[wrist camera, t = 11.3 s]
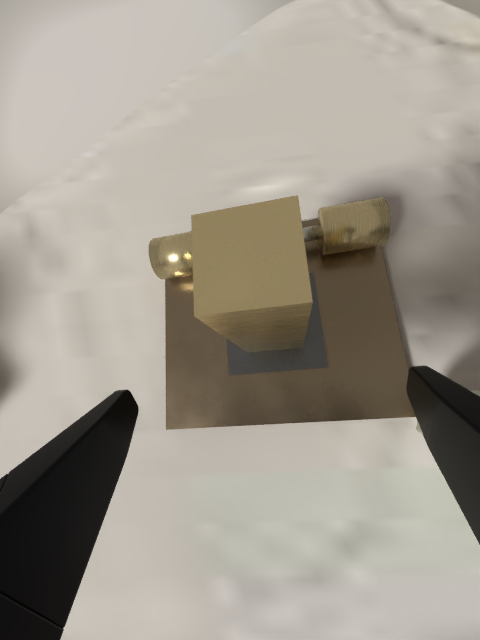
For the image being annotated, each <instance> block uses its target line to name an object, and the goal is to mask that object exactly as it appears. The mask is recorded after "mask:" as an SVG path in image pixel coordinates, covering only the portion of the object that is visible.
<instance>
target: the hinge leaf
mask: <svg viewBox="0 0 480 640" xmlns="http://www.w3.org/2000/svg"><path fill="white" fill-rule="evenodd" d="M302 229H303V236H304V243H305V250H306V257H307V265H308V272H309V279H310V286H311V293H312V300H313V303H312V308H311V313H310V317H309V322H308V327H307V332H306V336H305V341H304V346H303V348H292V349H281V350H270V351H259V352H248V353H247V352H246V351H244V350H243V349H241V348H240V347H239V346H237V345H236V344H234V343H233V342H231V341H230V340H228V339H227V338H225V337H224V336H222V335H221V334H219V333H218V332H216V331H215V330H213V329H212V328H211V327H209V326H208V325H206V324H205V323H203V322H202V321H200V320H199V319H197V318H196V317H194V293H193V255H192V232H186V233H181V234H175V235H170V236H164V237H159V238H153V239H152V240H151V241H150V244H149V258H150V262H151V265H152V268H153V270H154V272H155V274H156V275H157V276H158V277H159V278H160V279H165V298H166V429H185V428H205V427H224V426H244V425H264V424H283V423H303V422H322V421H342V420H362V419H381V418H401V417H416V416H415V413H414V410H413V408H412V405H411V403H410V400H409V398H408V395H407V391H406V385H407V379H408V373H409V371H408V366H407V362H406V357H405V353H404V348H403V344H402V339H401V334H400V330H399V325H398V321H397V316H396V312H395V307H394V303H393V298H392V294H391V289H390V285H389V280H388V276H387V271H386V267H385V262H384V258H383V253H382V249H381V246H383V245H385V243H386V242H387V239H388V236H389V231H390V212H389V207H388V204H387V201H386V200H385V199H384V198H383V197H379V198H374V199H368V200H363V201H357V202H352V203H346V204H341V205H335V206H330V207H324V208H319V211H318V219H315V220H309V221H304V222H302Z"/></svg>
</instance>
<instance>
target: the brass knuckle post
mask: <svg viewBox="0 0 480 640" xmlns="http://www.w3.org/2000/svg"><path fill="white" fill-rule="evenodd" d="M191 218H192V255H193V293H194V317H196V318H197V319H199V320H200V321H202V322H203V323H205V324H206V325H208V326H209V327H211V328H212V329H213V330H215V331H216V332H218V333H219V334H221V335H222V336H224V337H225V338H227V339H228V340H230V341H231V342H233V343H234V344H236V345H237V346H239V347H240V348H241V349H243V350H244V351H246V352H247V353H248V352H259V351H270V350H281V349H292V348H303V346H304V341H305V336H306V332H307V327H308V322H309V317H310V313H311V308H312V303H313V300H312V293H311V286H310V279H309V272H308V265H307V257H306V250H305V243H304V236H303V229H302V221H301V214H300V207H299V200H298V195H297V196H292V197H286V198H281V199H276V200H270V201H265V202H260V203H254V204H249V205H244V206H238V207H233V208H228V209H222V210H217V211H212V212H206V213H201V214H196V215H191Z"/></svg>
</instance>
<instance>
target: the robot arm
mask: <svg viewBox="0 0 480 640" xmlns="http://www.w3.org/2000/svg"><path fill="white" fill-rule="evenodd" d="M406 391H407V395H408V398H409V400H410V403H411V405H412V408H413V410H414V413H415V416H416V418H417V421H418V423H419V426H420V428H421V431H422V433H423V436H424V438H425V441H426V443H427V445H428V447H429V449H430V451H431V453H432V455H433V457H434V459H435V461H436V463H437V465H438V467H439V468H440V470H441V472H442V474H443V476H444V478H445V480H446V482H447V484H448V485H449V487H450V489H451V491H452V493H453V495H454V497H455V499H456V501H457V502H458V504H459V506H460V508H461V510H462V512H463V514H464V516H465V518H466V520H467V521H468V523H469V525H470V527H471V529H472V531H473V533H474V535H475V537H476V538H477V540H478V542H479V544H480V396H478V395H477V394H475V393H473V392H471V391H470V390H468V389H466V388H464V387H463V386H461V385H459V384H458V383H456V382H454V381H452V380H451V379H449V378H447V377H445V376H444V375H442V374H440V373H438V372H437V371H435V370H433V369H431V368H430V367H428V366H413V367H411V368H410V369H409V373H408V379H407V385H406ZM137 416H138V405H137V403H136V401H135V399H134V397H133V396H132V394H131V392H130V391H129V390H118V391H115V392H114V393H113V394H111V395H110V396H109V397H107V398H106V399H105V400H104V401H102V402H101V403H100V404H98V405H97V406H96V407H94V408H93V409H92V410H90V411H89V412H88V413H86V414H85V415H84V416H82V417H81V418H80V419H79V420H77V421H76V422H75V423H73V424H72V425H71V426H69V427H68V428H67V429H65V430H64V431H63V432H61V433H60V434H59V435H57V436H56V437H55V438H54V439H52V440H51V441H50V442H48V443H47V444H46V445H44V446H43V447H42V448H40V449H39V450H38V451H36V452H35V453H34V454H32V455H31V456H30V457H29V458H27V459H26V460H25V461H23V462H22V463H21V464H19V465H18V466H17V467H15V468H14V469H13V470H11V471H10V472H9V474H6V475H5V476H3V477H2V478H1V479H0V640H60V639H61V636H62V633H63V630H64V629H63V628H64V627H65V624H66V622H67V619H68V616H69V613H70V611H71V608H72V605H73V602H74V600H75V597H76V594H77V591H78V589H79V586H80V583H81V580H82V578H83V575H84V572H85V570H86V567H87V564H88V561H89V559H90V556H91V553H92V550H93V548H94V545H95V542H96V539H97V537H98V534H99V531H100V528H101V526H102V523H103V520H104V517H105V515H106V512H107V509H108V506H109V504H110V501H111V498H112V496H113V493H114V490H115V487H116V485H117V482H118V479H119V476H120V474H121V471H122V468H123V465H124V463H125V460H126V457H127V453H128V450H129V446H130V443H131V439H132V435H133V431H134V427H135V423H136V419H137Z"/></svg>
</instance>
